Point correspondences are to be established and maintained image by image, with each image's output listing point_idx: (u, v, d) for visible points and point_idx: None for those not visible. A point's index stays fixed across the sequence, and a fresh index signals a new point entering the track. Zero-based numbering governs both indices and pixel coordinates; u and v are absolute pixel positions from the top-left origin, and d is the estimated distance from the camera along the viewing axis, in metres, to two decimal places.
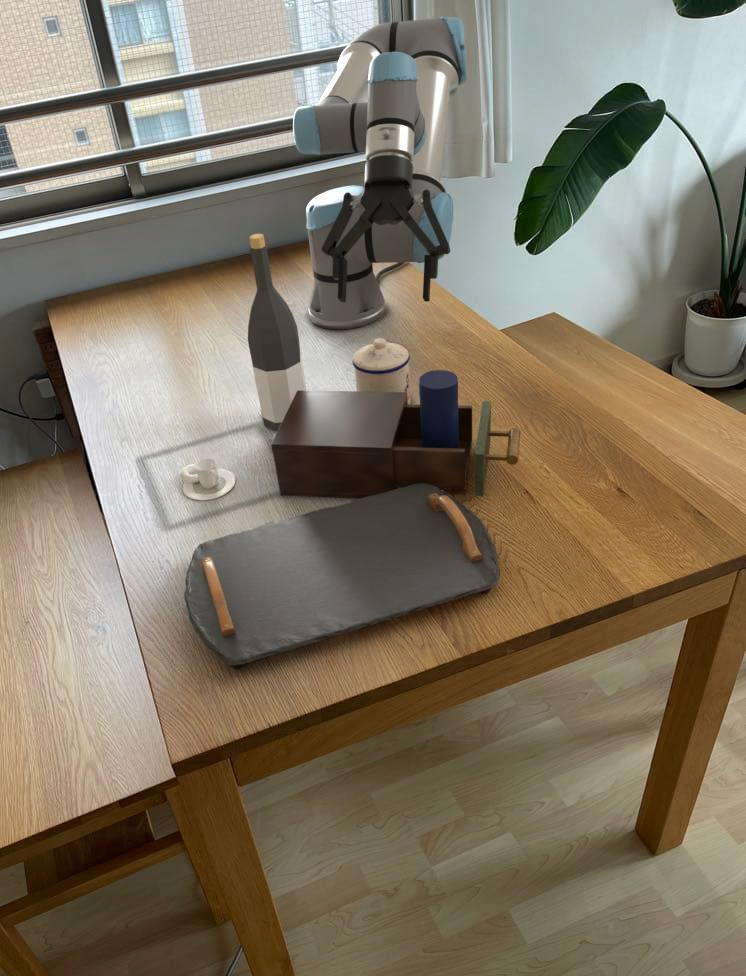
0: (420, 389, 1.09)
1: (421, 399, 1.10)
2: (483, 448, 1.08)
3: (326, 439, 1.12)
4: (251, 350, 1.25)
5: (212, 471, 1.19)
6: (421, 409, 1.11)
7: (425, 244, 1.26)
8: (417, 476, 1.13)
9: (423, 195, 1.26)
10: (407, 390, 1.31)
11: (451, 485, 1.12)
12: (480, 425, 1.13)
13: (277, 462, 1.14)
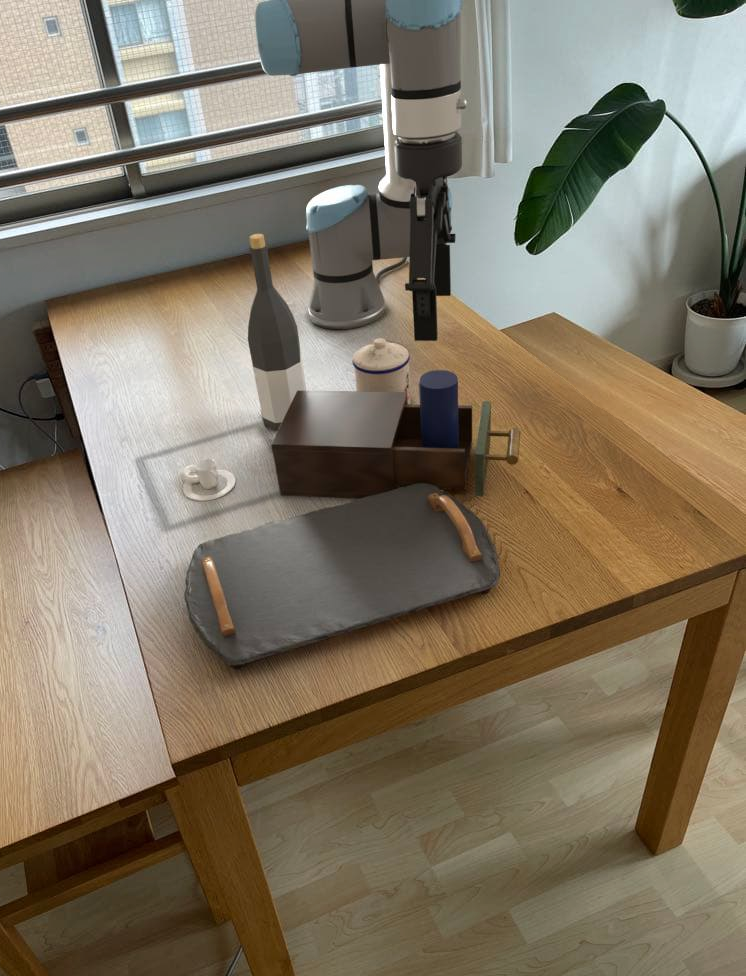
0: (420, 389, 1.09)
1: (421, 399, 1.10)
2: (483, 448, 1.08)
3: (326, 439, 1.12)
4: (251, 350, 1.25)
5: (212, 472, 1.19)
6: (421, 409, 1.11)
7: (447, 233, 1.03)
8: (417, 476, 1.13)
9: None
10: (407, 390, 1.31)
11: (451, 485, 1.12)
12: (480, 425, 1.13)
13: (277, 462, 1.14)
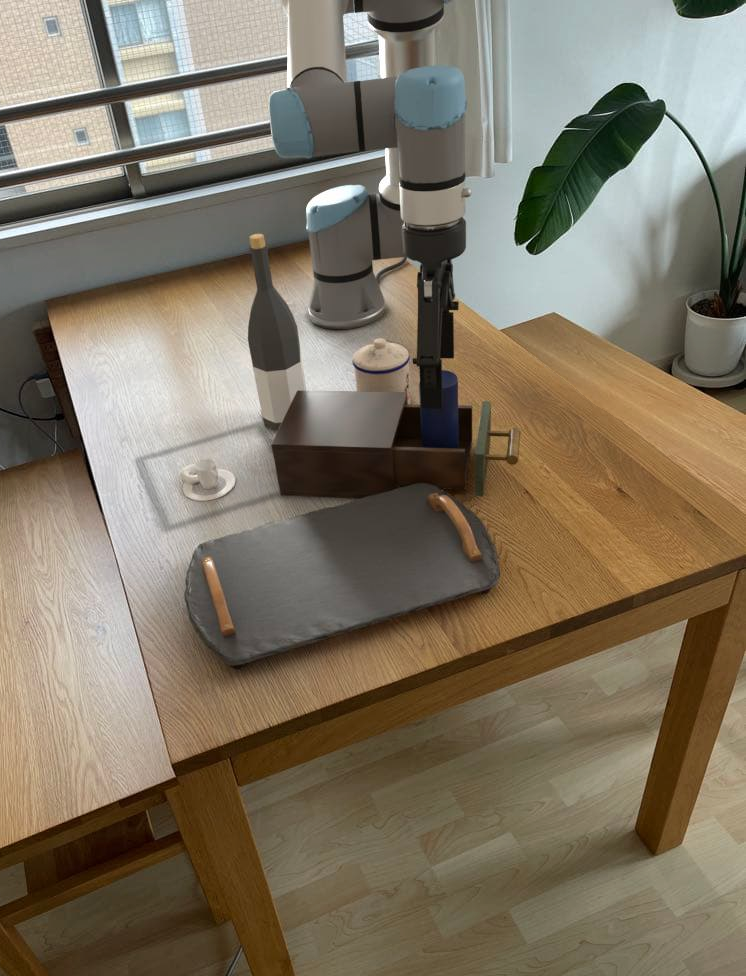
0: None
1: None
2: (483, 448, 1.08)
3: (326, 439, 1.12)
4: (251, 350, 1.25)
5: (212, 472, 1.19)
6: (421, 409, 1.11)
7: (451, 302, 1.08)
8: (417, 476, 1.13)
9: None
10: (407, 390, 1.31)
11: (451, 485, 1.12)
12: (480, 425, 1.13)
13: (277, 462, 1.14)
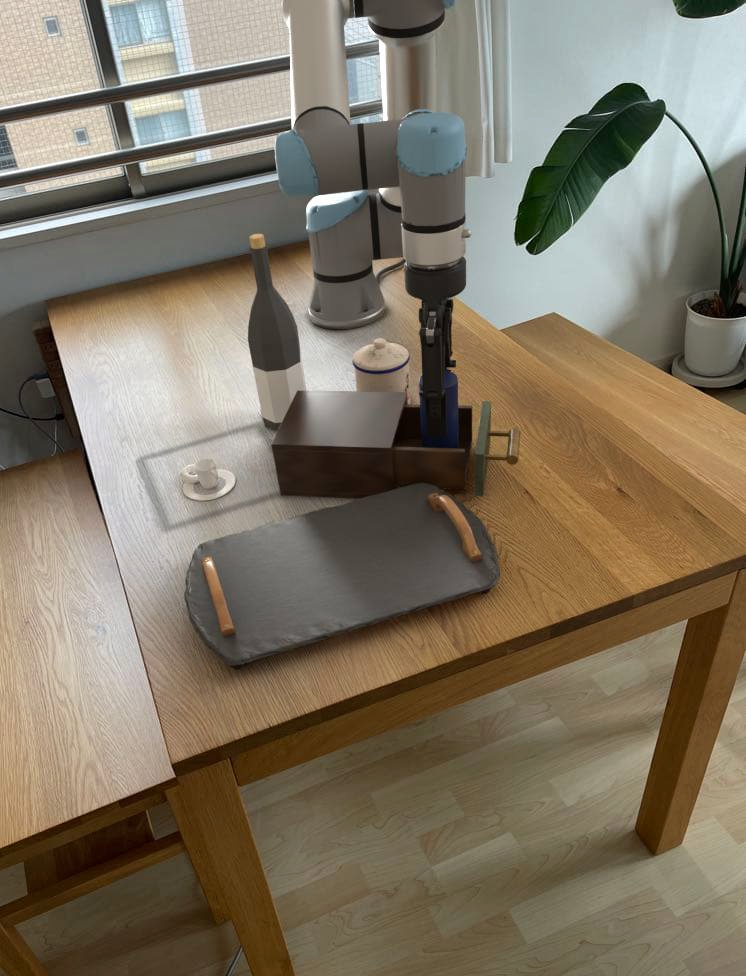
0: (420, 389, 1.09)
1: (421, 398, 1.10)
2: (483, 448, 1.08)
3: (326, 439, 1.12)
4: (251, 350, 1.25)
5: (212, 472, 1.19)
6: (421, 409, 1.11)
7: (449, 356, 1.10)
8: (417, 476, 1.13)
9: None
10: (407, 390, 1.31)
11: (451, 485, 1.12)
12: (480, 425, 1.13)
13: (277, 462, 1.14)
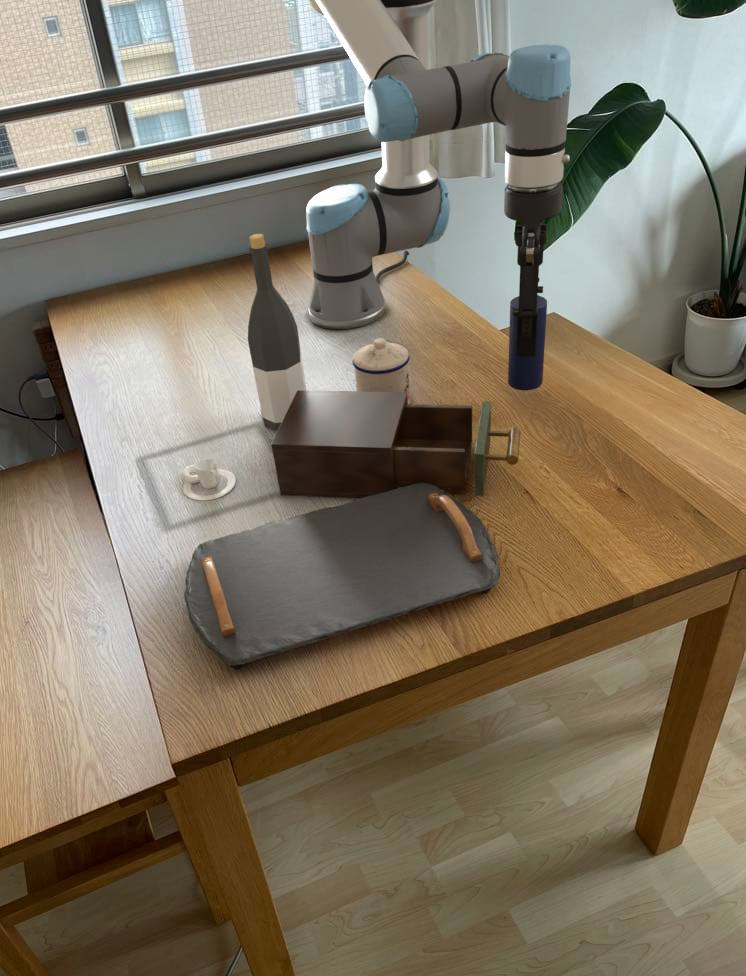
0: (512, 311, 1.18)
1: (512, 321, 1.18)
2: (483, 448, 1.08)
3: (326, 439, 1.12)
4: (251, 350, 1.25)
5: (212, 471, 1.19)
6: (511, 331, 1.20)
7: None
8: (417, 476, 1.13)
9: None
10: (407, 390, 1.31)
11: (451, 485, 1.12)
12: (480, 425, 1.13)
13: (277, 462, 1.14)
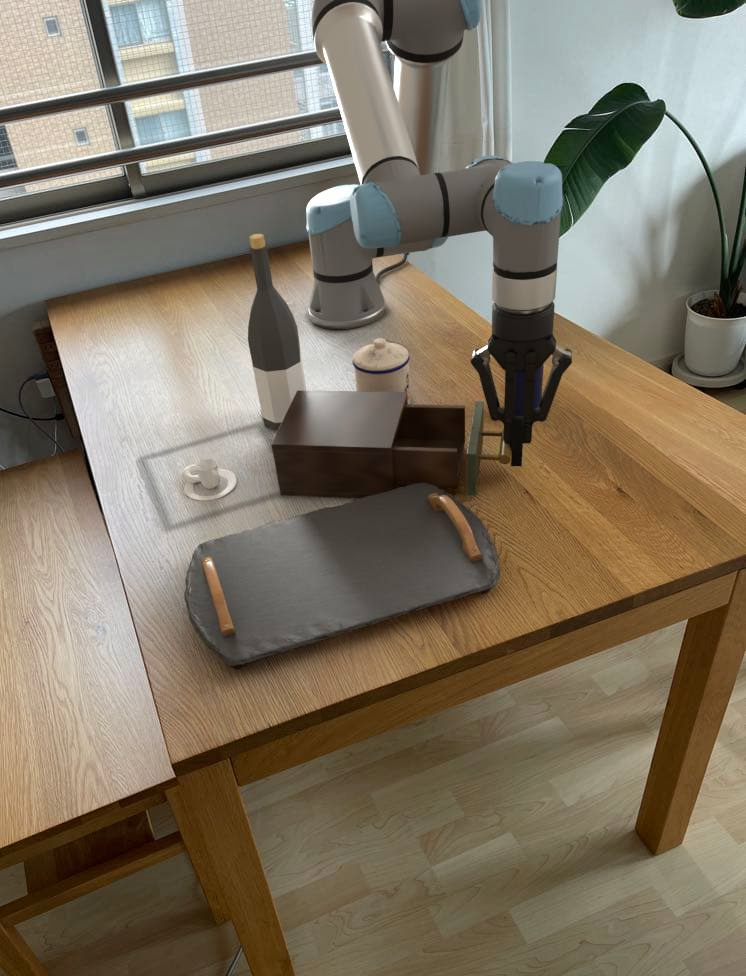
0: None
1: None
2: (475, 448, 1.08)
3: (326, 439, 1.12)
4: (251, 350, 1.25)
5: (213, 472, 1.19)
6: None
7: None
8: (410, 476, 1.13)
9: None
10: (407, 390, 1.31)
11: (444, 485, 1.13)
12: (473, 425, 1.13)
13: (277, 462, 1.14)
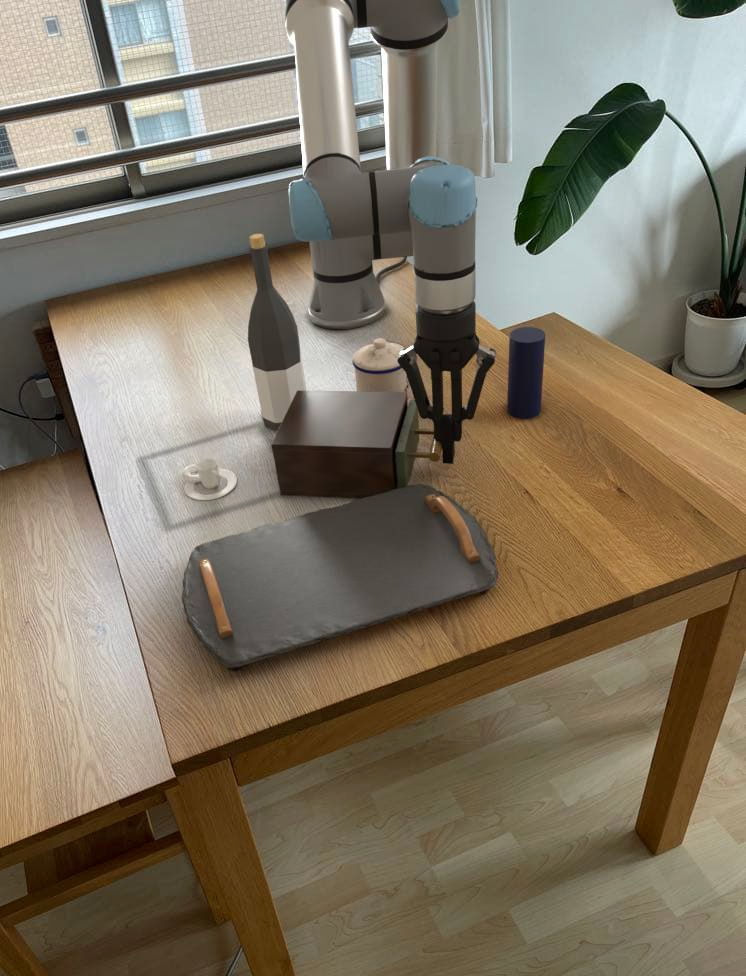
0: (511, 344, 1.21)
1: (511, 352, 1.22)
2: (404, 446, 1.10)
3: (326, 439, 1.12)
4: (251, 350, 1.25)
5: (213, 471, 1.19)
6: (510, 362, 1.23)
7: None
8: None
9: None
10: (407, 390, 1.31)
11: None
12: (404, 423, 1.15)
13: (277, 462, 1.14)
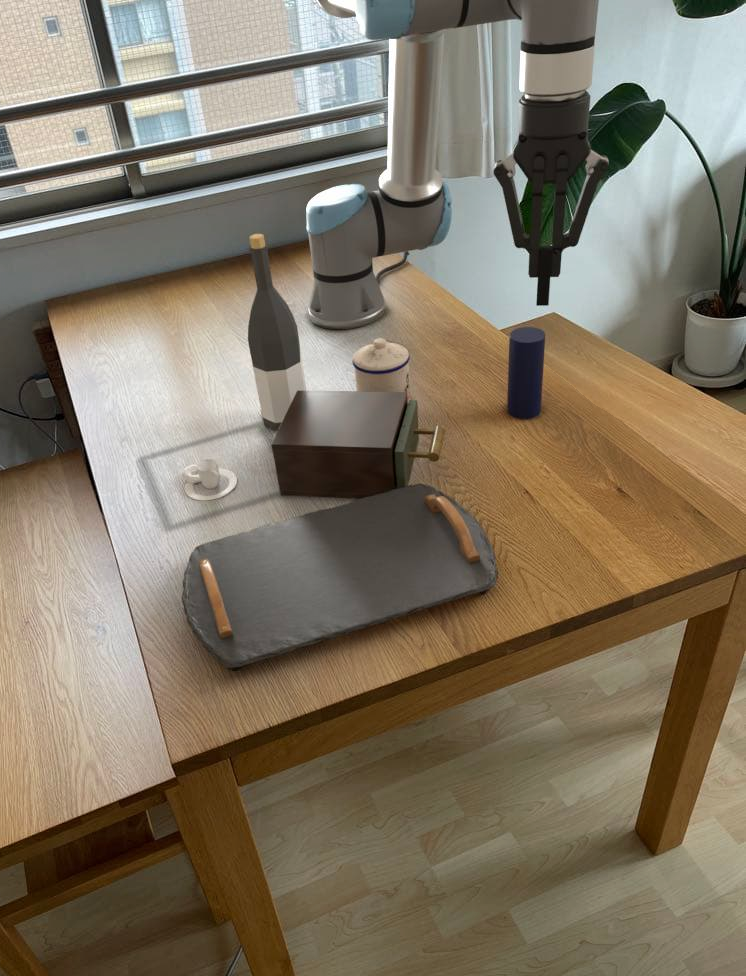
0: (511, 344, 1.21)
1: (511, 352, 1.22)
2: (403, 446, 1.11)
3: (326, 439, 1.12)
4: (251, 350, 1.25)
5: (214, 471, 1.19)
6: (510, 362, 1.23)
7: None
8: None
9: None
10: (407, 390, 1.31)
11: None
12: (403, 423, 1.15)
13: (277, 462, 1.14)
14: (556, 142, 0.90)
